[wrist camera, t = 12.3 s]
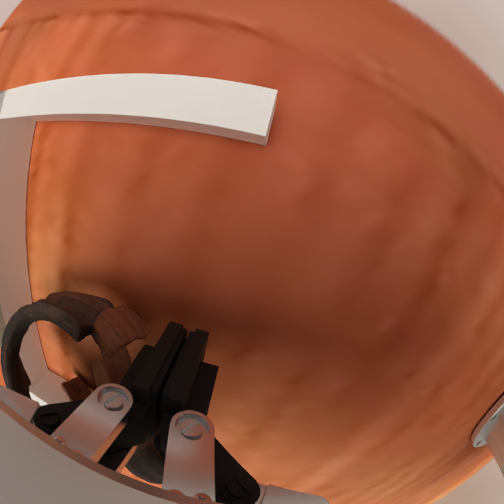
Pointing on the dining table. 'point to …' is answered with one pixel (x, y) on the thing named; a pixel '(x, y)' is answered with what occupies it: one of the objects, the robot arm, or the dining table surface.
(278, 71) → the dining table surface
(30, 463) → the robot arm
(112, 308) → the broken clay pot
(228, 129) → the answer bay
